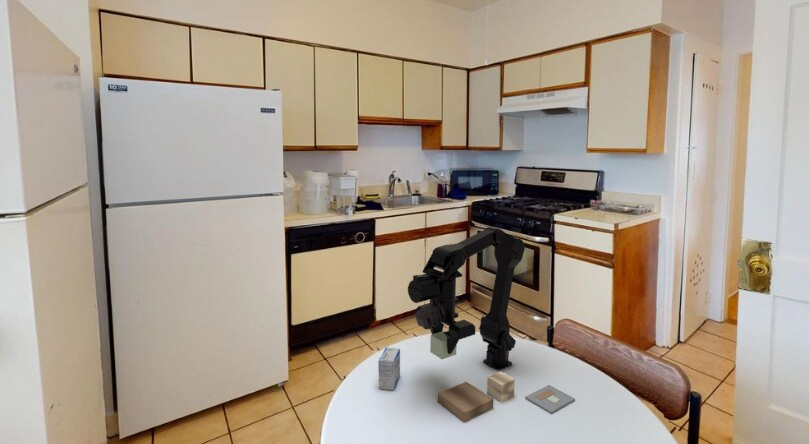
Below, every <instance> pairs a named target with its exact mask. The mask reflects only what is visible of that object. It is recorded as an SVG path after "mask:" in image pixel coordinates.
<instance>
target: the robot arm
mask: <svg viewBox="0 0 809 444" xmlns="http://www.w3.org/2000/svg"><path fill="white" fill-rule="evenodd" d="M491 246H492V247H493V248H494V251H493V252H494V253H493V255H494V257H495V258H494V259H495V261H496V264H497V267H496V273H495V276H494V277H495V278H494V284H493V290H492V295H491V302H490V308H489V311H488V312H487V314H486V315H484V316H481V317H480V324H479V327H478V330H479V334H480V336H481V338H482V342H484V343H487V345H486V346H487V347H486V348H487V350H486V353H485V354H486V356H485V359H483V360H482V362H483V364H485V365H487V366H490V367H491V368H492V369H495V370H497V371H500V370H503V369H505V368H507V367H509V366H512V365H513V362H512V361H510V360H509V356H510V355H509V354H510V352H511V351H512V350H513V349H514V348H515V347H516V346H515V345H516V342H517V341H516V340H515V338H514V337H513V336H512V335H511V334H510V332H511V331H510V330H511V329H510V328H511V326H510V321H509V318H508V316H507V312H508V308H509V302H510V301H509V300H510V297H511V289H512V285H513V279H514V274H515V268H516V267H517V266H518V265H519V264H520V263H521V261H522V260H523V256H524V252H525V249H526V244H525V243H524V241H523V240H522V238H519V237H515V236H512V235H511V234H509V233H506V232H505V231H504V230H503V229H501V228H498V227H493V226H488V227H485V228H484V230H481V231H479V232H478V233H475V234H473V235H471V236H469V237H468V238H465V239H464V240H461V241H459V242H458V243H452V244H444V245H440V246H437V247H435V248H434V249H433V250H432V253H431V254H430V257H429V258H428V260H427V262H426V263H425V266H424V268H423V269H422V273H423V274H415V275H412V280H410V281H409V282H408V283H409V284H408V286H407V294H408V296H409V299H410V300H411V301H412V302H413V303H415V304H419V303H421V302H425V301H426V302H427V301H429V303H426V304H425V303H424V304H422V305H418V306H417V308H416V309H415V313H414V316H415V317H414V318H415V320H416V323H417V325H418V326H420V327H422V328H423V329H424V330H430V333H431V335H432V334H435V333H439V332H442V331H444V328H445V327H444V326H448V328H447V329H448V330H447V331H446V330H445V331H446V332H443V333H444V334H445V335H446V336H447V350H448V354H451V353H452V352H453V350H454V348H455V346H456V345H457V344H458V343H459V341H460V340H463V339H465V338H468V337H472V336H475V335H476V325H475V324H474V323H472V322H470V321H468V320H466V319H461V320H457V321H456V320H455V319H456V318H459V313H457V312H456V304H458V303H459V302H460V299H459V297H456V296H457V295H456V292H457V291H456V289H457V279H458V278H462V277H463V273H461V272H460V271H459V270H460V268H462V267H463V266H464V265H465V263H466V260H467V259H469V258H470V257H473V256H474V255H476V254H478V253H480V252H482V251H484V250H485V249H488V248H489V247H491ZM436 268H437V269H436ZM438 269H439V270H438ZM441 270H442V271H441Z"/></svg>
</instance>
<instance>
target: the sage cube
mask: <svg viewBox="0 0 809 444" xmlns="http://www.w3.org/2000/svg"><path fill="white" fill-rule="evenodd" d="M443 332H446V330H443V331H442V332H439V333H435V334H432V333H431V334H430V344H429V345H430V347H429V348H430V350H429V351H430V353H431V354H432V355H434V356H435V357H438V358H439V359H440V360H445V359H448V358H450V357H453V356H456V355H457V347H458V346H457V345H456V346H455V348H454V350H453V352H452V353H451V354H448V350H447V336H446V335H445V334H444V333H443Z"/></svg>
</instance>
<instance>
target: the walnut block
mask: <svg viewBox="0 0 809 444" xmlns="http://www.w3.org/2000/svg"><path fill="white" fill-rule="evenodd" d="M494 400H495V398H493V397H491V396H490V395H488V394H487V393H485V392H483V391H482V390H480V389H478V388H477V387H476V386H474V385H472V384H471V383H469V382H468V381H464V382H462V383H459V384H456V385H455V386H452V387H450V388H447V389H444V390H443V391H439V392H438V393H437V401H436V402H437V403H438V404H439V405H441V407H443V408H444V409H445V410H447V411H448V412H450V414H452V415H454V416H455V417H456V418H457V419H459V421H461V422H462V423H466V422H468V421H470V420H472V419H474V418H477V417H479V416H481V415H483V414H485V413H486V412H488V411H490V410H493V409H494Z"/></svg>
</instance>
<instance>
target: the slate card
mask: <svg viewBox="0 0 809 444" xmlns="http://www.w3.org/2000/svg"><path fill="white" fill-rule="evenodd" d="M524 399H525V400H526V401H528V402H530V403H532V404H533V405H535V406H537V407H538V408H540V409H541V410H543V411H545V412H547V413H548V414H550V415H553V414H554V413H556V412H557V411H559V410H561V409H563V408H565V407H566V406H569V404H572V403H573V402H575V401H576V398H575V397H573V396H571V395H569V394H567V393H565V392H563V391H562V390H559V389H558V388H556V387H554V386H552V385H550V384H547V385H545V386H544V387H542V388H540V389H537V390H536V391H534V392H532V393H530V394H528V395H526V396H525V397H524Z"/></svg>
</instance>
